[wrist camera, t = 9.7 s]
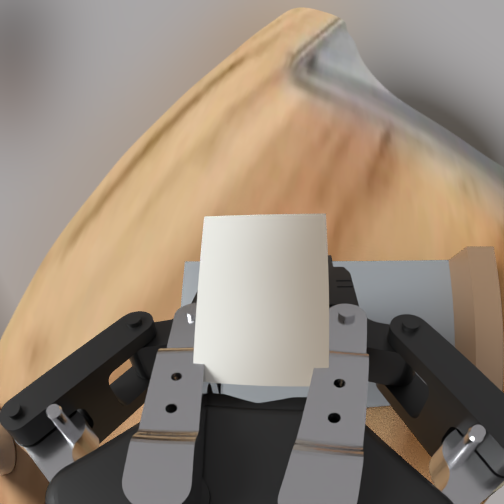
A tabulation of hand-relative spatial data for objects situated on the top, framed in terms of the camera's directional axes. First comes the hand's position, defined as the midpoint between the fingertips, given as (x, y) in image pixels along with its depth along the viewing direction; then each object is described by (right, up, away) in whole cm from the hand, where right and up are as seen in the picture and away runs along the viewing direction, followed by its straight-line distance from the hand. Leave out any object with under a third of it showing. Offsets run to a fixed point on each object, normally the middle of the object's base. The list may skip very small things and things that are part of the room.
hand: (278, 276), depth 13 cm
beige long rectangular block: (+1, -3, +3) cm, 5 cm away
